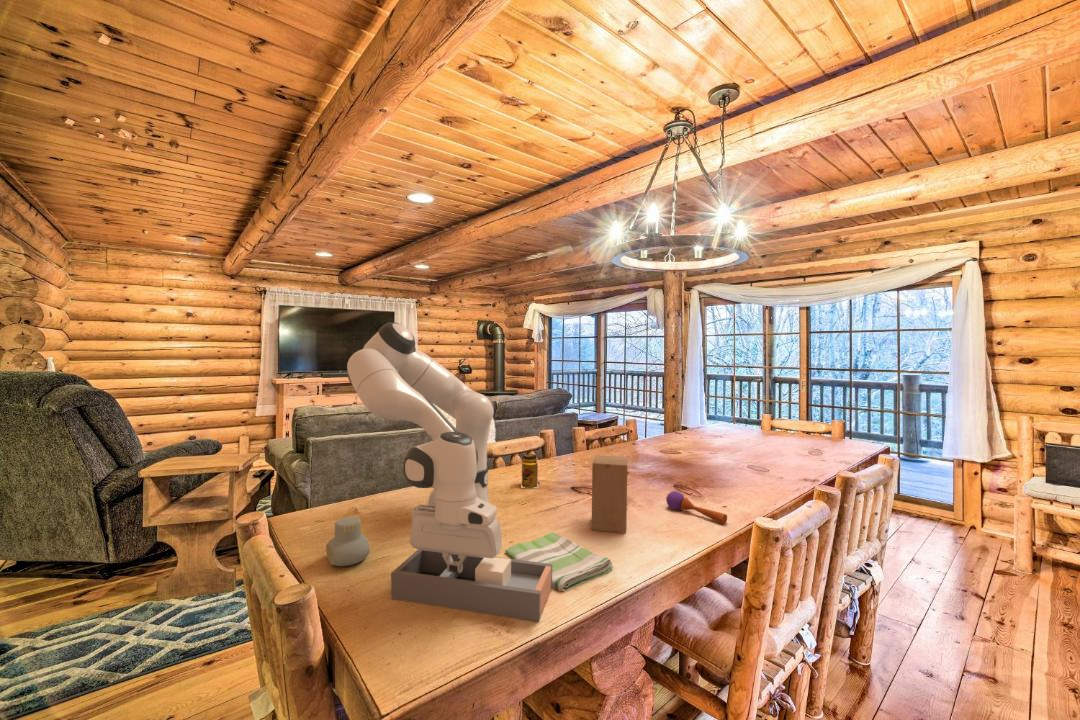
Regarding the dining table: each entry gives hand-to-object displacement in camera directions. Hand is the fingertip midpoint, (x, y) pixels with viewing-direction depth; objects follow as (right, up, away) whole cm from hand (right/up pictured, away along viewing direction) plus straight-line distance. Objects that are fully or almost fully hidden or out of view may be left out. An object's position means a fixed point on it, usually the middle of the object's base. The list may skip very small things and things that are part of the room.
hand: (454, 571), depth 97 cm
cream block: (+9, -2, -2) cm, 9 cm away
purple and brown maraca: (+68, -4, +47) cm, 83 cm away
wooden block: (+39, -4, +37) cm, 54 cm away
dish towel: (+23, -5, +14) cm, 27 cm away
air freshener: (-29, -4, +13) cm, 32 cm away
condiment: (+15, -3, +76) cm, 77 cm away
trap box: (+4, -4, -1) cm, 6 cm away
